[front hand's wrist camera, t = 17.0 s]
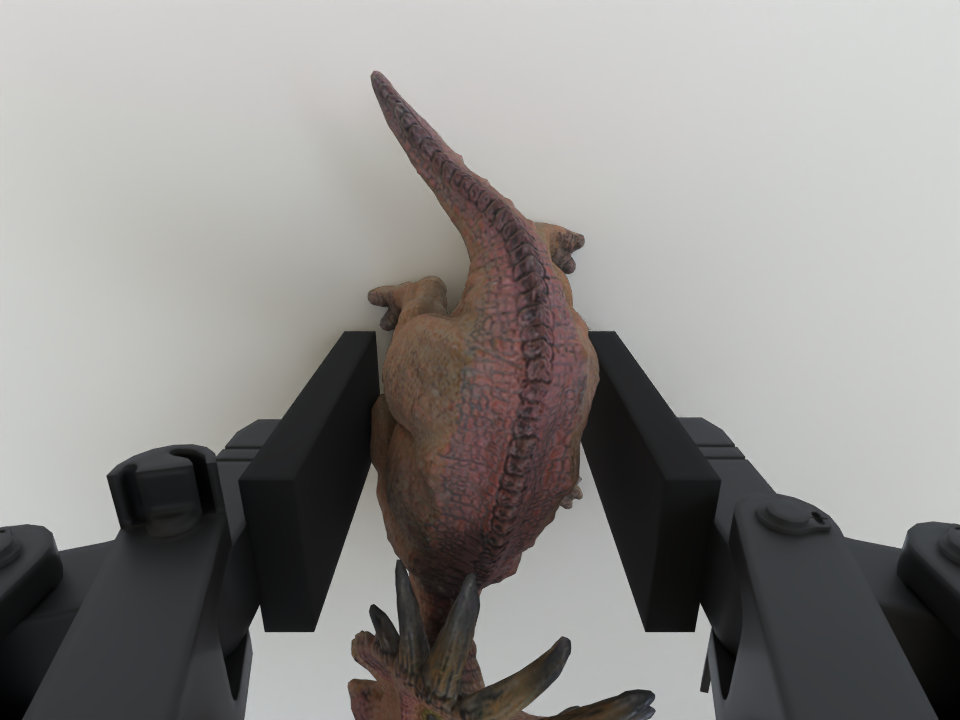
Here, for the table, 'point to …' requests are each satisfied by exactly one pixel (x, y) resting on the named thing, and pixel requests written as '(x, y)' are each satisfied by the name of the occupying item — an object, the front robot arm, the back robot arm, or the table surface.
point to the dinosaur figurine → (473, 447)
